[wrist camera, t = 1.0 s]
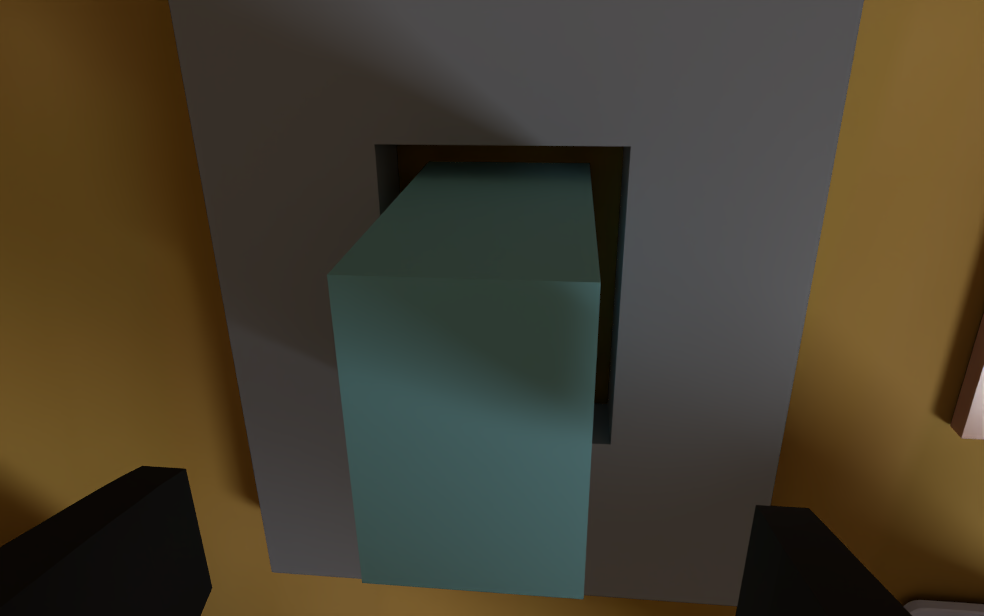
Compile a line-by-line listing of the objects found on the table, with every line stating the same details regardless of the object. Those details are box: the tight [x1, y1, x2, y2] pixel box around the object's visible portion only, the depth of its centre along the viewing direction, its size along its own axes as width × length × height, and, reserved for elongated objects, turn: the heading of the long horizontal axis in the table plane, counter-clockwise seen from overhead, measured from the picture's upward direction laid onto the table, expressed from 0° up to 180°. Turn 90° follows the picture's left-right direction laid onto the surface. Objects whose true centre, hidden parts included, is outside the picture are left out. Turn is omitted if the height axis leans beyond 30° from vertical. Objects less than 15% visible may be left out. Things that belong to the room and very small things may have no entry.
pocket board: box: [168, 0, 864, 606], centre depth 18 cm, size 18×14×2 cm
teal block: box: [327, 161, 601, 599], centre depth 15 cm, size 6×4×8 cm, turn 1°
